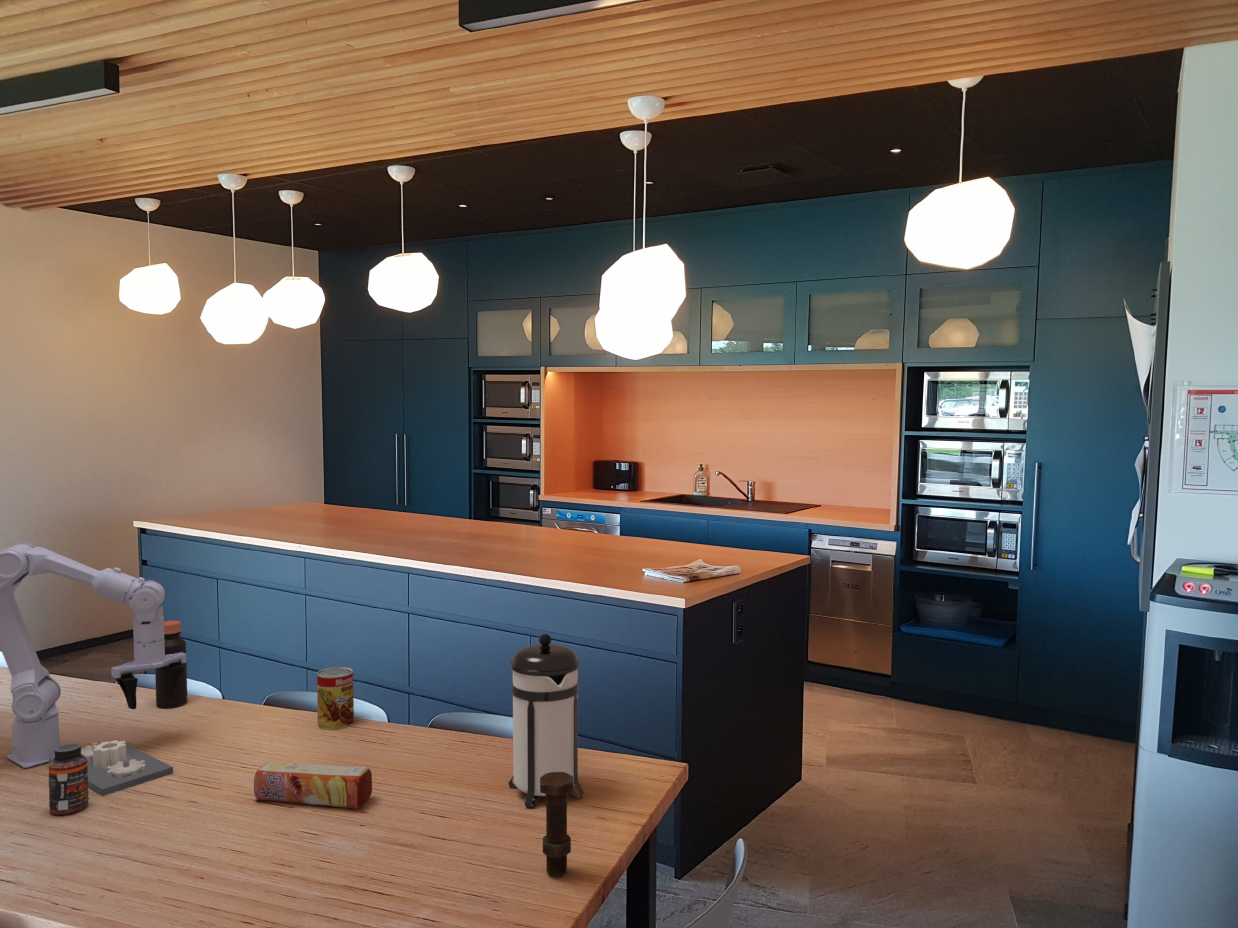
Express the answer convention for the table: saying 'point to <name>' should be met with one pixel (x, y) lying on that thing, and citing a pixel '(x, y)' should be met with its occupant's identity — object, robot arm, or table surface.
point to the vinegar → (177, 646)
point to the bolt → (556, 821)
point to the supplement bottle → (68, 780)
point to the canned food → (335, 698)
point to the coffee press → (544, 716)
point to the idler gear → (109, 753)
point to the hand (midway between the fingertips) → (151, 703)
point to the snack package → (314, 784)
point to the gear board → (123, 770)
